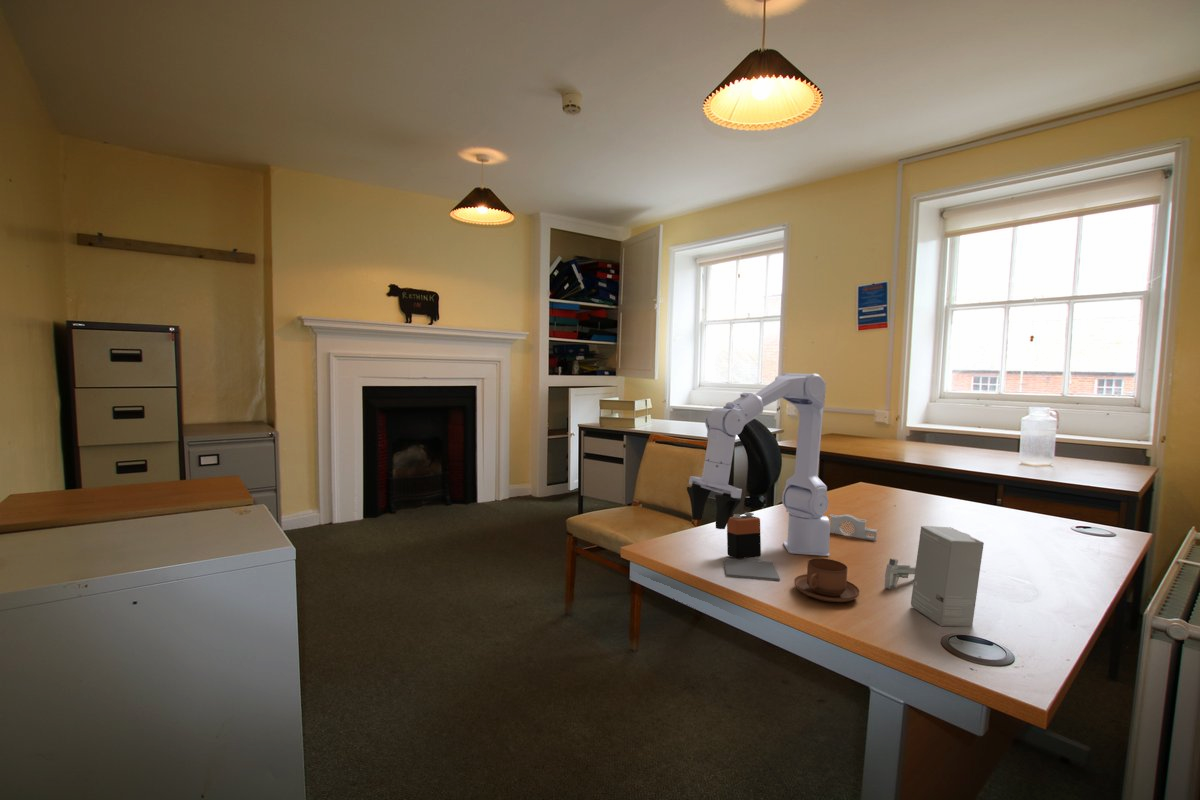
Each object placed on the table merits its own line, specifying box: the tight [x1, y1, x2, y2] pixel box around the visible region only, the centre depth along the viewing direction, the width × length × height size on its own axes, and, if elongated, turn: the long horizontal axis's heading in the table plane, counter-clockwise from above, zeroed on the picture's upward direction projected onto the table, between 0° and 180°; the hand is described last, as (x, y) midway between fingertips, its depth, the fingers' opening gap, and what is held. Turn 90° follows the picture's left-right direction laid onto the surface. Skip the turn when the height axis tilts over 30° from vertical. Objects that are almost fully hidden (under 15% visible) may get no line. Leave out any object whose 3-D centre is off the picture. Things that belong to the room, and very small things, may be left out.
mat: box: [723, 557, 781, 582], centre depth 120 cm, size 11×10×1 cm
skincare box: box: [910, 525, 985, 627], centre depth 98 cm, size 8×7×16 cm
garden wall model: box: [828, 513, 879, 542], centre depth 146 cm, size 12×2×6 cm, turn 55°
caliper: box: [884, 558, 916, 590], centre depth 116 cm, size 21×1×6 cm, turn 122°
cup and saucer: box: [793, 557, 860, 603], centre depth 108 cm, size 12×12×6 cm
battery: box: [726, 512, 762, 560], centre depth 128 cm, size 4×7×10 cm, turn 110°
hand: (708, 524), depth 118 cm, fingers open, 7 cm apart
